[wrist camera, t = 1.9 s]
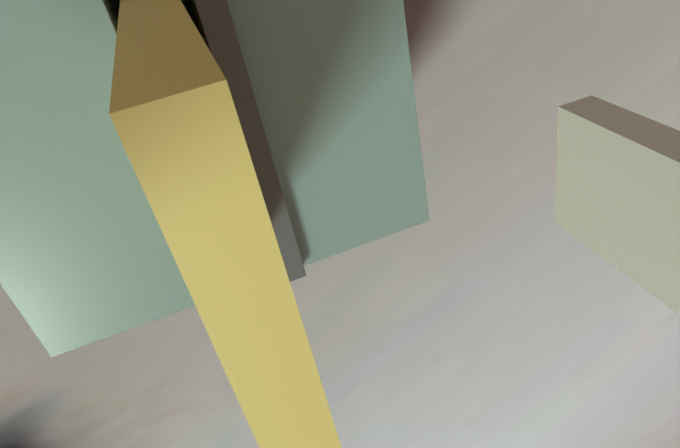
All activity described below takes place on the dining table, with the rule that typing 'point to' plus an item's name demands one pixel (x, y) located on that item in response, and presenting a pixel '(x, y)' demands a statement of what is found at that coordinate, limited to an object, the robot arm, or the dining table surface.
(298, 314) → the pale yellow plank
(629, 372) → the dining table surface
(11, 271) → the dispenser
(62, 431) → the dining table surface
